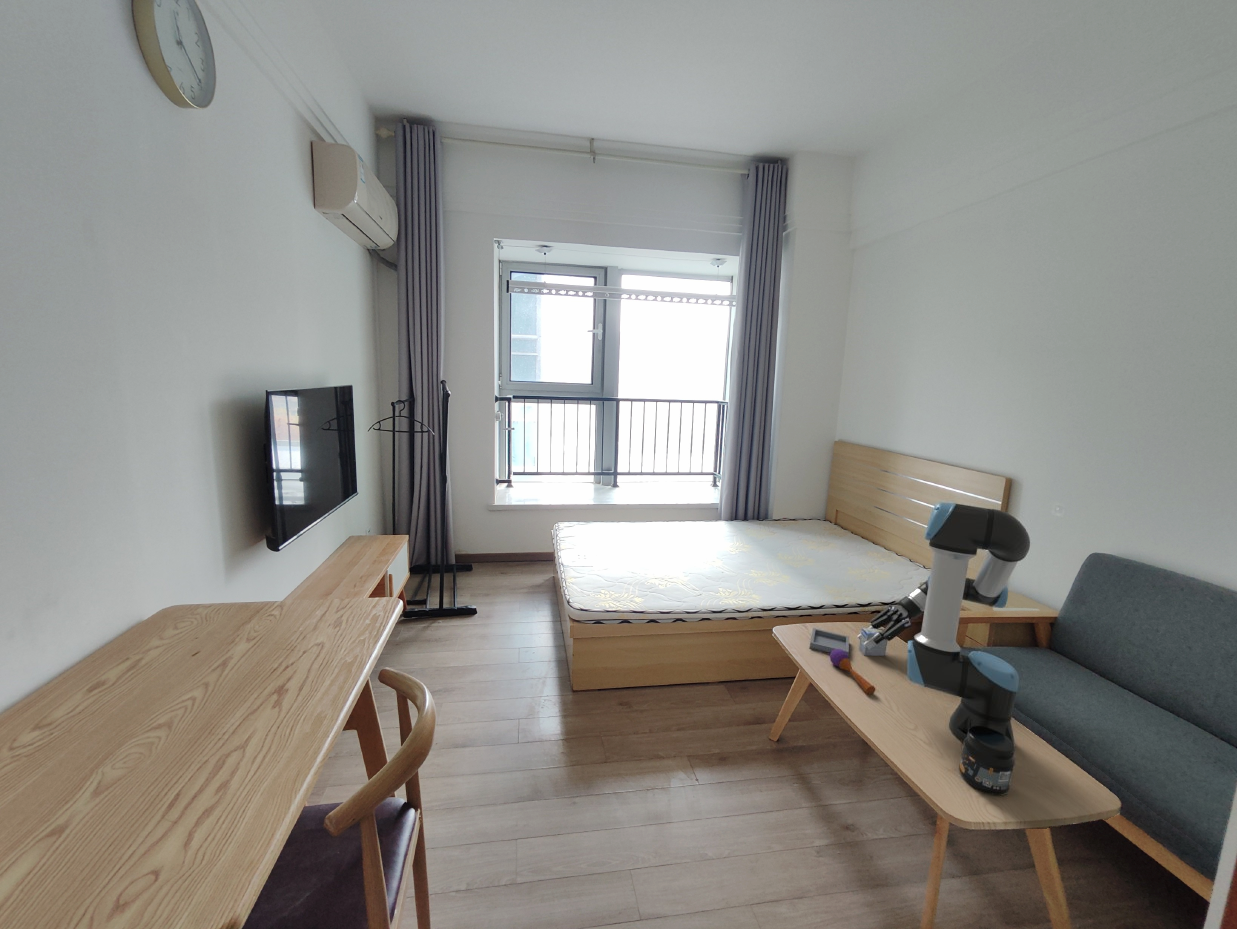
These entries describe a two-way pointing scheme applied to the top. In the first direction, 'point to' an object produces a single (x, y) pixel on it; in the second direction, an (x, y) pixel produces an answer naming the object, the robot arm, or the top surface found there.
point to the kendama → (850, 669)
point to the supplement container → (987, 760)
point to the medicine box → (875, 650)
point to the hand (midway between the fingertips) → (862, 642)
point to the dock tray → (828, 641)
